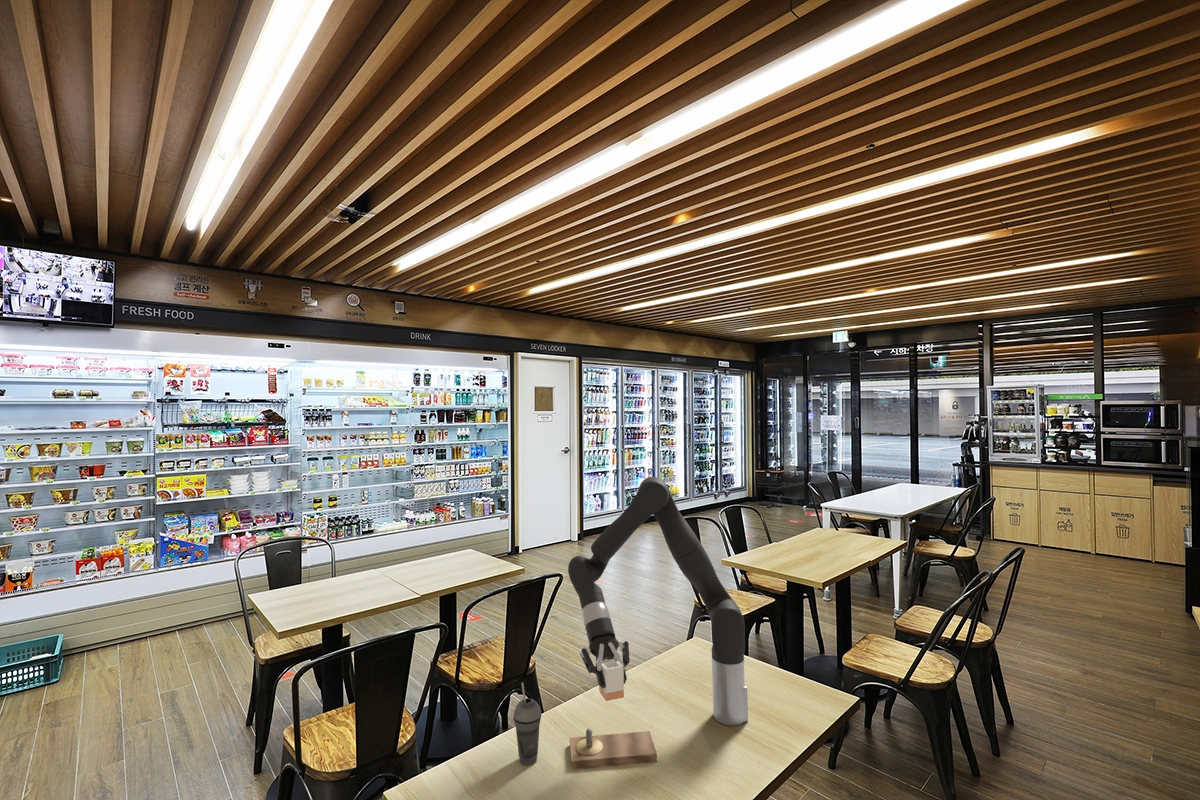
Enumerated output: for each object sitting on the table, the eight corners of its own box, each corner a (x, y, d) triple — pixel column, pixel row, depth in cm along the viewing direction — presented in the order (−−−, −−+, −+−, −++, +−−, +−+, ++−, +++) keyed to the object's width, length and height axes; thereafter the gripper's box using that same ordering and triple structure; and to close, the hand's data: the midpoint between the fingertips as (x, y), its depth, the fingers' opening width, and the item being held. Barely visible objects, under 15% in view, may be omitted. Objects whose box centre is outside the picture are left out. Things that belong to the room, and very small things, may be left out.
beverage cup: (537, 771, 138) (535, 691, 139) (510, 768, 140) (508, 689, 140) (545, 753, 145) (544, 677, 146) (519, 750, 147) (518, 675, 147)
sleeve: (599, 691, 147) (599, 661, 147) (616, 688, 148) (616, 658, 149) (606, 701, 142) (605, 670, 142) (623, 697, 144) (623, 666, 144)
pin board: (649, 738, 151) (649, 713, 151) (657, 761, 141) (656, 734, 141) (569, 745, 149) (569, 719, 149) (571, 769, 139) (570, 742, 139)
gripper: (576, 620, 150) (591, 685, 139) (624, 612, 155) (643, 675, 144) (570, 632, 155) (584, 696, 143) (617, 624, 160) (635, 685, 148)
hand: (613, 685), depth 144 cm, fingers closed on sleeve, 5 cm apart
